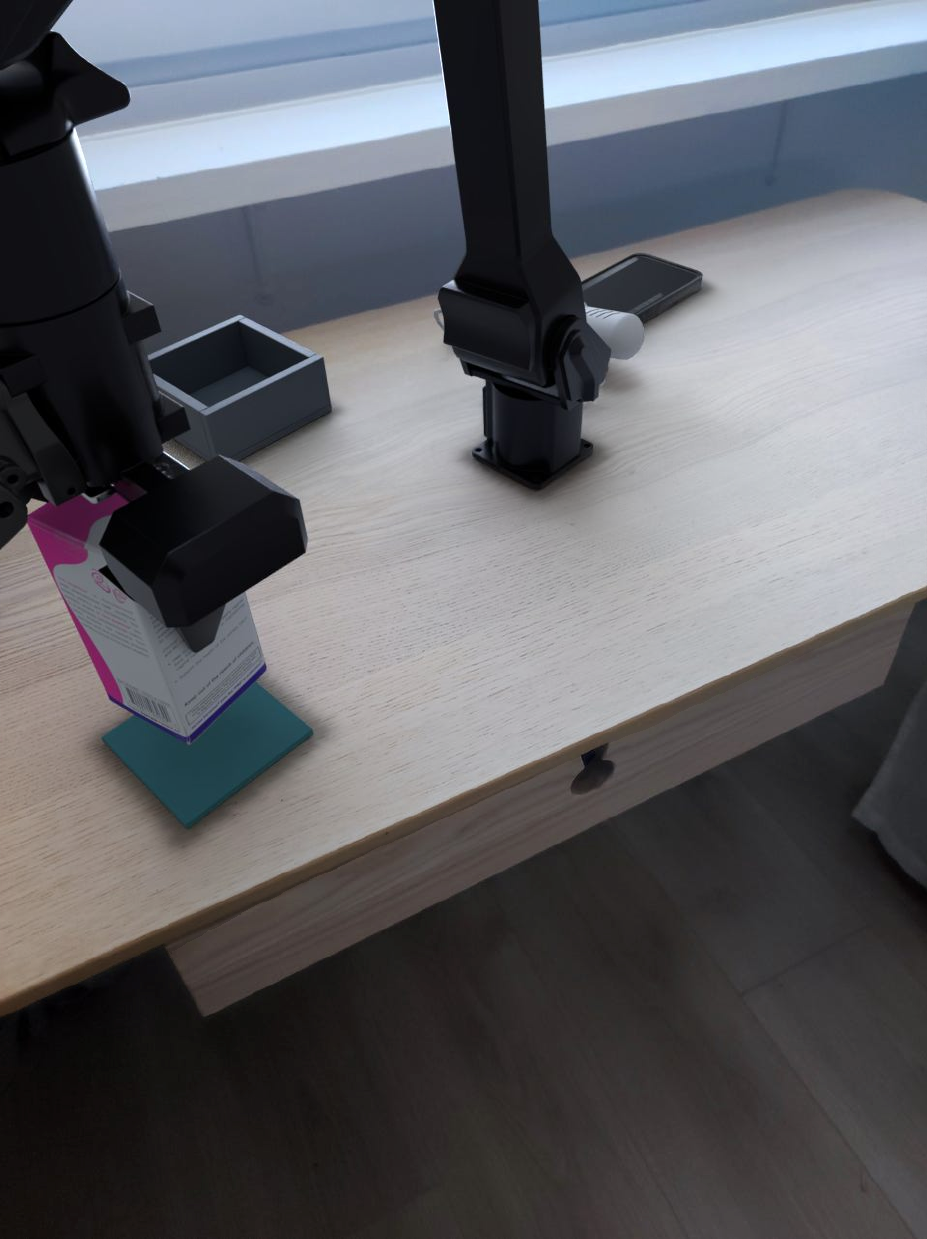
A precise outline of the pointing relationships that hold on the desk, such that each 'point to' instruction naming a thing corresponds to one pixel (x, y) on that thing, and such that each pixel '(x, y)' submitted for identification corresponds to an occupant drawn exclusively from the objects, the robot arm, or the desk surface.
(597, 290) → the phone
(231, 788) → the counter mat
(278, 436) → the grey open box
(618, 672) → the desk surface
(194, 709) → the supplement box
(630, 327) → the clip-on lamp
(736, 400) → the desk surface
